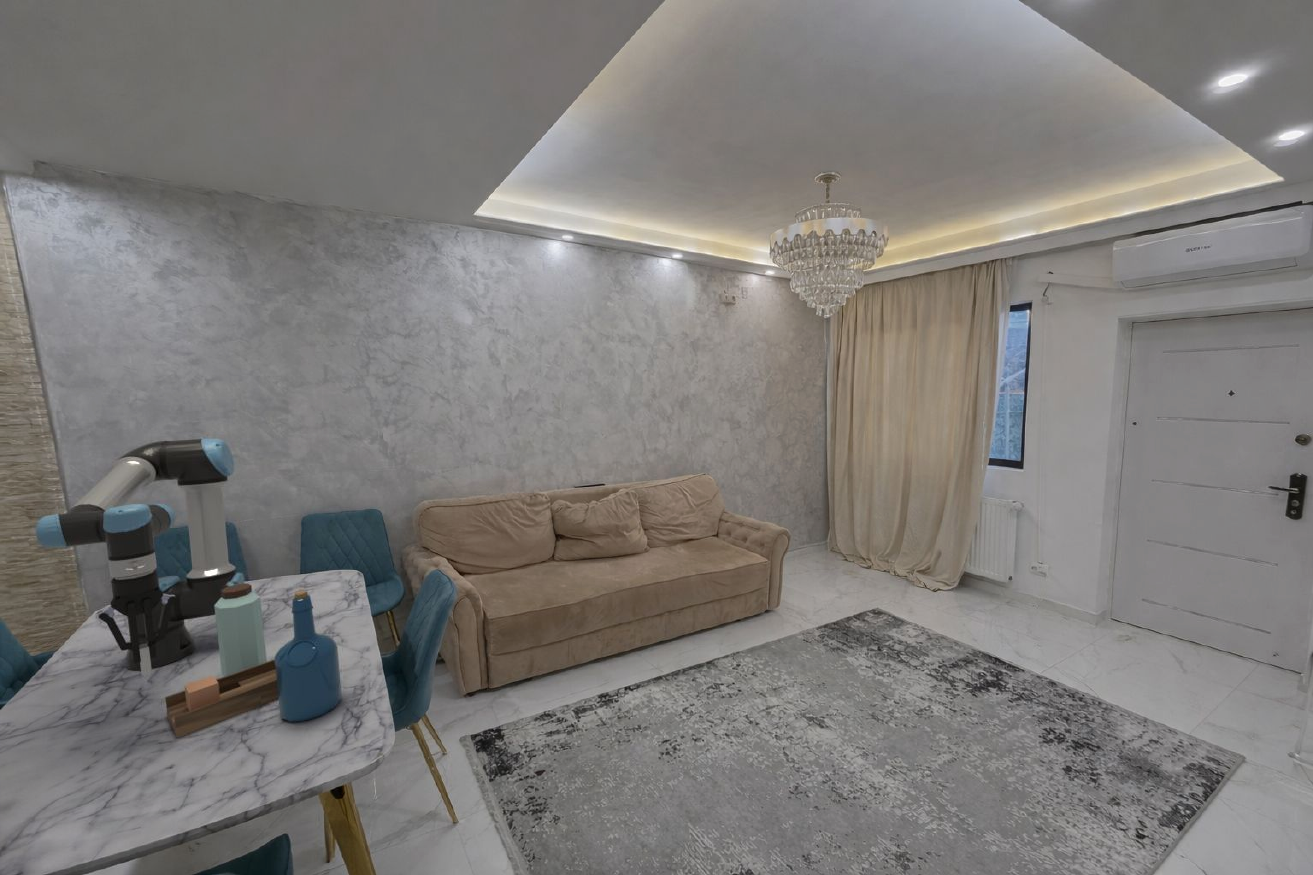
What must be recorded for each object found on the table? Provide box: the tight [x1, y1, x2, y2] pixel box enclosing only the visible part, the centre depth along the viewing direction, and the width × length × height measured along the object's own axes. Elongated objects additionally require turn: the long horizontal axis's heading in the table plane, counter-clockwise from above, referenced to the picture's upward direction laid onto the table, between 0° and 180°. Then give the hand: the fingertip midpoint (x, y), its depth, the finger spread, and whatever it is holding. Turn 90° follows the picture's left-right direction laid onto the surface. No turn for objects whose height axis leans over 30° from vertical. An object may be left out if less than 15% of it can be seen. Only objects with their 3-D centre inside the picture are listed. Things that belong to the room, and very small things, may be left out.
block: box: [183, 675, 220, 711], centre depth 130 cm, size 6×6×6 cm
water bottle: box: [214, 583, 268, 677], centre depth 147 cm, size 10×10×25 cm
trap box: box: [164, 658, 278, 739], centre depth 137 cm, size 13×30×6 cm, turn 140°
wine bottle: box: [274, 589, 342, 723], centre depth 131 cm, size 14×13×30 cm
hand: (146, 673), depth 121 cm, fingers closed
